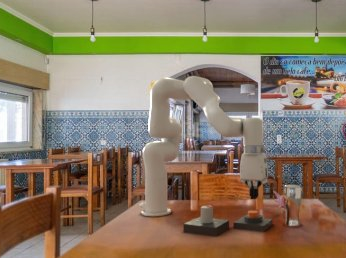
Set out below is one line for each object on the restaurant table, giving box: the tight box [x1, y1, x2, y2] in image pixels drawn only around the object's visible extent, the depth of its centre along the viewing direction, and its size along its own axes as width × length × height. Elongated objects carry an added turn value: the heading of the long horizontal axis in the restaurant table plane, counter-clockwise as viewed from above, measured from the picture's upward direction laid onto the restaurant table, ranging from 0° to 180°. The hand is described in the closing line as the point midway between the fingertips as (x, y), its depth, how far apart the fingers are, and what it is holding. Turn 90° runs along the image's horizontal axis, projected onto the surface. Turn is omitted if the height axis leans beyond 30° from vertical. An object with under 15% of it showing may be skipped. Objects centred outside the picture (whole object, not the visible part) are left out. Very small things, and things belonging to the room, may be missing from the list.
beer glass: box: [282, 184, 302, 228], centre depth 136 cm, size 7×7×15 cm
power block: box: [233, 213, 273, 233], centre depth 134 cm, size 12×10×4 cm
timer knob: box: [200, 205, 214, 223], centre depth 130 cm, size 4×4×6 cm
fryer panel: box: [183, 216, 230, 237], centre depth 130 cm, size 13×11×3 cm
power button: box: [247, 210, 260, 218], centre depth 134 cm, size 4×4×2 cm
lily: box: [273, 190, 285, 216], centre depth 153 cm, size 12×12×10 cm
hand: (254, 198), depth 134 cm, fingers closed
